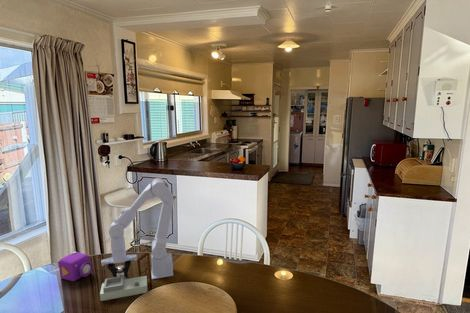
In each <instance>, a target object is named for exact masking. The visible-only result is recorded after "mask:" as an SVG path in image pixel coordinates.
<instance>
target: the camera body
mask: <svg viewBox="0 0 470 313" xmlns="http://www.w3.org/2000/svg"><path fill="white" fill-rule="evenodd" d="M147 277H148V276H147V275H143V276H142V275H141V276H137V277H131V278H126V279H124V276H119V277H113V276H112V277H108V278H105V279H104V282H102V284H101V288H100V292H99V300H100V302H102V301H103V302H104V301H109V300H114V299H120V298H125V297H130V296H136V295H141V294H147V293H148V278H147ZM146 292H147V293H146Z"/></svg>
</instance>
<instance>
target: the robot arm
mask: <svg viewBox="0 0 470 313" xmlns="http://www.w3.org/2000/svg"><path fill="white" fill-rule="evenodd" d="M155 197H157V198H159V199H160V201H161V202H162V204H161V208H160V213H159V218H158V224H157V227H156V228H157V229H156V233H155V234H154V239H153V240H152V241H151V244H150V245H151V246H150V247H151V255H150V259H151V260H150V261H151V272H150V273H151V274H150V275H151V280H158V279H162V278H163V279H164V278H167V277H173V276H174V265H173V264H174V263H173V254H172V253H171V252H170V253H168V252H167V247H166V246H167V237H168V236H167V235H168V231H169V226H170V222H171V216H172V212H173V208H174V207H173V206H174V202H175V198H174V196H173V194H172V191H171V189H170V187H169V185H168V183H167V182H166V181H165V180H164V179H163V178H161V177H156V178H154V179H153V180H152V181H151V182H150V183H148V185H147V186H146V187H145V188H144V190H142V192H141V193H140V194H139V195H138V197H137V198H136V199H135V200H134V202H133V203H132V205H131V206H130V207H125V208H124V209H121V211H120V214H119V216H118V217H116V218H115V219H113V222H112V223H110V225H109V228H108V229H109V230H108V234H109V236H110V237H109V238H110V248H111V251H110V252H111V257H109V258H104V259H101V261H100V262H101V267H104V266H105V265H107V268H108V270H109V272H110V273H111V274H112V278H113V277H116V272H115V268H116V264H121V263H124V266H125V277H126V279H128V273H129V269H130V266H131V263H132V262H133V261H135V262H136V261H137V260H138V257H137V254H127V250H126V241H125V240H126V238H125V235H124V232H125V229H127V228H128V227H129V225H131V223H132V222H133V221H134V220H135V218H136V217H137V212H138V210H139V209H140V208H141V207H142V206H143V205H144V204H145V203H147V201H148V200H149V199H154V198H155Z"/></svg>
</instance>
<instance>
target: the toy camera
mask: <svg viewBox="0 0 470 313" xmlns="http://www.w3.org/2000/svg"><path fill="white" fill-rule="evenodd" d="M58 268H59V275H60V278H61V279H64V280H67V281H69V282H76V281H78V280H80V279H81V278H85V277H86V278H87V277H88V276H89V275H90V274H91V273H92V271H93V263H92V262H90V257H89V255H88V254H86V253H83V252H78V251H73V252H72V253H70V254H68V255H66V256H64V257H62V258H60V259H59V261H58Z"/></svg>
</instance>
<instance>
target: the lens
mask: <svg viewBox="0 0 470 313" xmlns="http://www.w3.org/2000/svg"><path fill="white" fill-rule="evenodd" d="M115 272H116V277H119V276H124V279H127V278H126V277H125V265H118V266H115Z"/></svg>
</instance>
